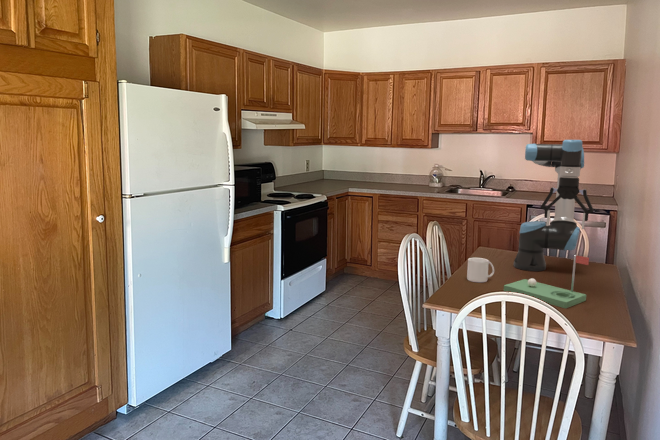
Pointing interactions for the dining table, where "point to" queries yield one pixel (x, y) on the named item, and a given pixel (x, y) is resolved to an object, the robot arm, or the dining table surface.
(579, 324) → the dining table surface
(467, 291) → the dining table surface
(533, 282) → the ball
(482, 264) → the mug
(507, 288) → the green
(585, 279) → the dining table surface
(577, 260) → the flag pin
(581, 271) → the dining table surface
